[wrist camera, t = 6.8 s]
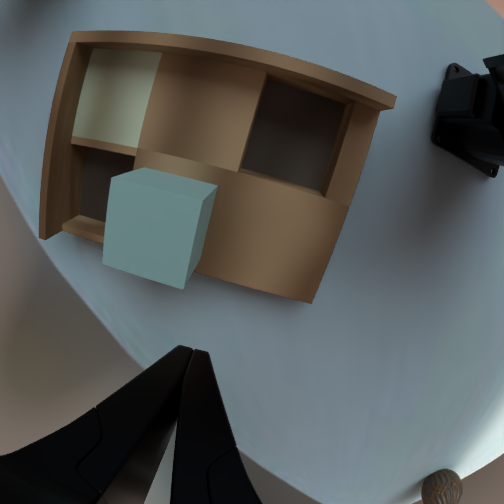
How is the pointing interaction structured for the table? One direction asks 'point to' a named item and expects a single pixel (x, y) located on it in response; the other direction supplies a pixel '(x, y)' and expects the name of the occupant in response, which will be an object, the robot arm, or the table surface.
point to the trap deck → (212, 147)
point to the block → (157, 225)
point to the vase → (442, 488)
